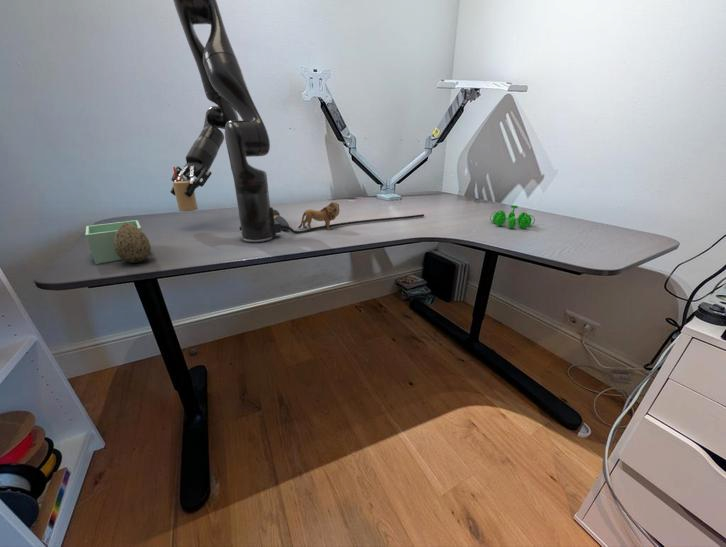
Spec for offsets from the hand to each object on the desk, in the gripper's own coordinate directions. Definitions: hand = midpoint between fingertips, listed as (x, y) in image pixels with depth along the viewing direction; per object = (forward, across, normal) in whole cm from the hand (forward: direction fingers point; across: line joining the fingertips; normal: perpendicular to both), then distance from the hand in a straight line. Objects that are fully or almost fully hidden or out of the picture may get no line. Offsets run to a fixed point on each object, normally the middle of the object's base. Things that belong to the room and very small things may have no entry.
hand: (180, 194), depth 101 cm
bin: (+25, +4, -8) cm, 27 cm away
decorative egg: (+27, +13, -10) cm, 32 cm away
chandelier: (-28, +102, +46) cm, 115 cm away
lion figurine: (-6, +39, +23) cm, 46 cm away
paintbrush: (-4, +24, +21) cm, 32 cm away
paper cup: (+2, 0, +5) cm, 6 cm away
